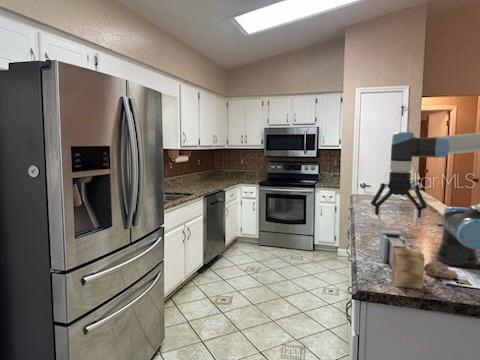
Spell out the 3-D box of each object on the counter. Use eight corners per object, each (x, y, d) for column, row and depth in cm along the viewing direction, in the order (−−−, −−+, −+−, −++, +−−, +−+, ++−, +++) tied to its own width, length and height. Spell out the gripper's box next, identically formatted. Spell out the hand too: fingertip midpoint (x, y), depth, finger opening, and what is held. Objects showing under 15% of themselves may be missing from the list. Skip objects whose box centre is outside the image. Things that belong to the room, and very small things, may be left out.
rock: (420, 274, 127) (447, 278, 118) (420, 258, 128) (447, 261, 119) (433, 275, 131) (460, 280, 122) (433, 260, 132) (460, 263, 123)
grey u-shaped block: (397, 254, 148) (399, 230, 146) (403, 263, 137) (405, 237, 136) (379, 253, 149) (380, 229, 148) (383, 262, 138) (385, 236, 137)
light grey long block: (394, 254, 146) (395, 234, 145) (404, 269, 129) (406, 247, 128) (383, 253, 148) (384, 233, 146) (392, 268, 130) (393, 246, 129)
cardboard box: (416, 280, 120) (418, 249, 119) (422, 288, 113) (424, 256, 112) (391, 278, 122) (393, 247, 121) (396, 286, 115) (397, 254, 114)
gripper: (432, 172, 132) (428, 224, 134) (365, 169, 138) (362, 219, 140) (438, 173, 124) (434, 228, 127) (367, 171, 130) (364, 224, 133)
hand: (396, 224), depth 133 cm, fingers open, 13 cm apart
